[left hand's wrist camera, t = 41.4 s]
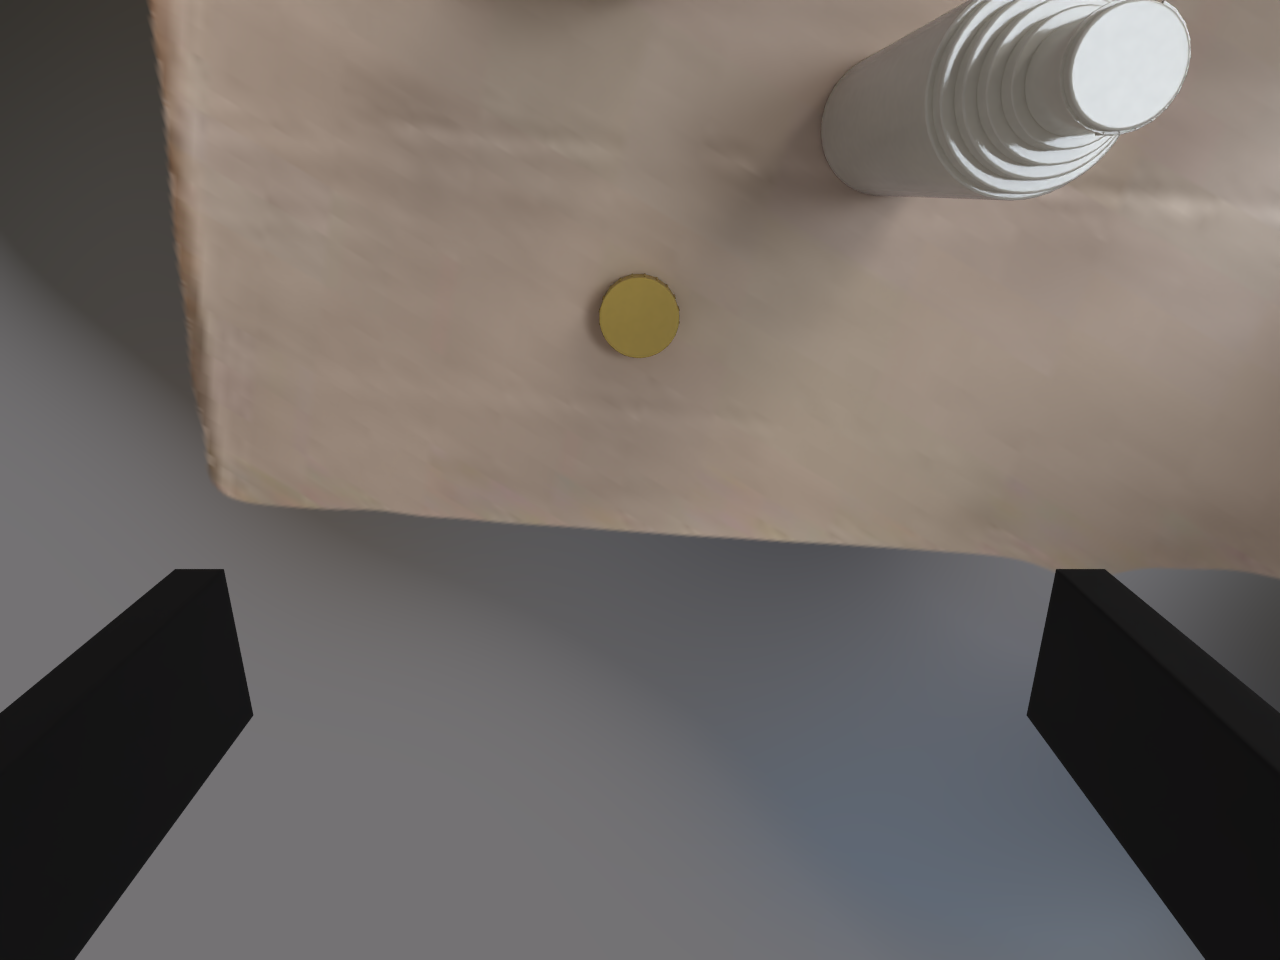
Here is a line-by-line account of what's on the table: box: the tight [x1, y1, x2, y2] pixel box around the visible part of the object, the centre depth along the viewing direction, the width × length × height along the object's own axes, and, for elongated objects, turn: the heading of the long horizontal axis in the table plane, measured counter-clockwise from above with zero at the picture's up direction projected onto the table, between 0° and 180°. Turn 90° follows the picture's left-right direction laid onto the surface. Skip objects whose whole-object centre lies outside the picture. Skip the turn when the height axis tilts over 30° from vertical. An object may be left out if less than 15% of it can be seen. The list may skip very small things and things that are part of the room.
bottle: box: [821, 0, 1191, 200], centre depth 32 cm, size 7×7×23 cm
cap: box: [599, 273, 679, 358], centre depth 46 cm, size 5×5×2 cm
